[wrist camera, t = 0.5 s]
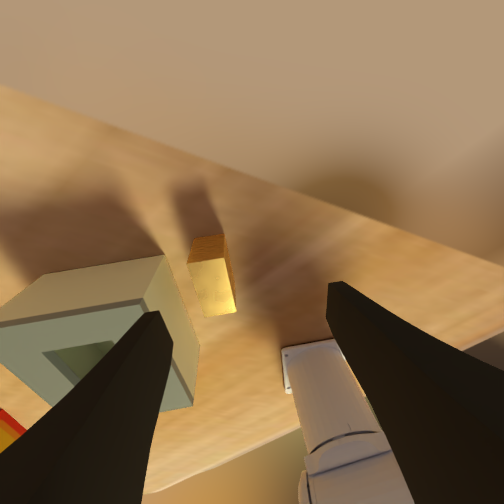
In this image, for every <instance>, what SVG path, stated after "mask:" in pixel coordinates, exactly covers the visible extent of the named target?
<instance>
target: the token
mask: <svg viewBox="0 0 504 504" xmlns="http://www.w3.org/2000/svg"><path fill="white" fill-rule="evenodd" d="M187 266H188V269H189V272H190V275H191V278H192V281H193V284H194V287H195V290H196V293H197V296H198V299H199V302H200V305H201V308H202V311H203V314H204V317H210V316H216V315H221V314H227V313H233V312H236V298H235V281H234V277H233V272H232V267H231V262H230V258H229V253H228V248H227V243H226V239H225V234H218V235H212V236H206V237H200V238H194V241H193V244H192V248H191V251H190V254H189V258H188V261H187Z"/></svg>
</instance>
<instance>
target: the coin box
mask: <svg viewBox="0 0 504 504" xmlns="http://www.w3.org/2000/svg"><path fill="white" fill-rule="evenodd" d="M157 310H159V311H160V313H161V315H162V318H163V320H164V322H165V324H166V327H167V329H168V331H169V333H170V336H171V338H172V340H173V342H174V345H173V353H172V361H171V367H170V372H169V376H168V380H167V384H166V388H165V391H164V395H163V399H162V403H161V407H160V411H159V412H164V411H170V410H175V409H181V408H186V407H191V406H193V400H194V392H195V384H196V376H197V367H198V359H199V351H200V345H199V342H198V340H197V337H196V335H195V332H194V329H193V327H192V324H191V322H190V319H189V316H188V314H187V311H186V309H185V306H184V303H183V301H182V298H181V296H180V293H179V290H178V288H177V285H176V283H175V280H174V277H173V275H172V272H171V270H170V267H169V264H168V262H167V259H166V257H165V255H159V256H153V257H147V258H141V259H134V260H128V261H122V262H116V263H110V264H104V265H98V266H92V267H86V268H79V269H73V270H67V271H61V272H55V273H49V274H43V275H42V276H41V277H39V278H38V279H37V280H36V281H34V282H33V283H32V284H30V285H29V286H28V287H26V288H25V289H24V290H23V291H21V292H20V293H19V294H17V295H16V296H15V297H14V298H12V299H11V300H10V301H8V302H7V303H6V304H4V305H3V306H2V307H1V308H0V363H1V364H2V365H4V366H5V367H6V368H7V369H8V370H9V371H11V372H12V373H13V374H14V375H15V376H17V377H18V378H19V379H20V380H21V381H22V382H24V383H25V384H26V385H27V386H28V387H29V388H31V389H32V390H33V391H34V392H35V393H36V394H38V395H39V396H40V397H41V398H42V399H44V400H45V401H46V402H47V403H48V404H49V405H51V406H52V407H54V406H55V405H56V404H57V403H58V402H59V401H60V400H61V399H62V398H63V397H64V396H65V395H66V394H67V393H68V392H69V391H71V390H72V389H73V388H74V387H75V385H76V384H77V383H78V382H79V381H80V380H81V379H82V378H83V377H84V376H85V375H86V374H87V373H88V372H89V371H90V370H91V369H92V368H93V367H94V366H95V365H96V364H97V363H98V362H99V361H100V360H101V359H102V358H103V357H104V356H105V355H106V354H107V353H108V351H109V350H110V349H111V348H112V347H113V346H114V345H115V344H116V343H117V342H118V341H119V340H120V338H121V337H122V336H123V335H124V334H125V333H126V332H127V331H128V330H129V329H130V327H131V326H132V325H133V324H134V323H135V322H136V321H137V320H138V319H139V318H140V317H141V316H142V315H143V314H144V313H145V312H151V311H157Z"/></svg>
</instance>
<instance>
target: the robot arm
mask: <svg viewBox="0 0 504 504" xmlns="http://www.w3.org/2000/svg"><path fill="white" fill-rule="evenodd" d="M326 319H327V322H328V324H329V327H330V329H331V332H332V334H333V336H334V338H335V339H330V340H325V341H319V342H313V343H308V344H302V345H297V346H291V347H286V348H283V349H282V350H281V353H282V364H283V374H284V385H285V392H286V393H287V394H290V393H293V397H294V401H295V405H296V409H297V413H298V417H299V421H300V425H301V428H302V432H303V436H304V440H305V444H306V448H307V452H308V456H305V457H304V461H305V465H306V469H307V470H304V471H302V473H301V477H300V482H299V486H298V497H299V504H504V371H502V370H500V369H498V368H496V367H494V366H491V365H489V364H487V363H485V362H483V361H480V360H478V359H476V358H474V357H472V356H470V355H468V354H466V353H464V352H462V351H460V350H458V349H456V348H454V347H452V346H450V345H448V344H446V343H444V342H442V341H440V340H438V339H436V338H435V337H433V336H431V335H429V334H427V333H425V332H424V331H422V330H420V329H418V328H417V327H415V326H413V325H411V324H410V323H408V322H406V321H405V320H403V319H401V318H400V317H398V316H396V315H395V314H393V313H391V312H390V311H388V310H387V309H385V308H383V307H382V306H380V305H379V304H377V303H376V302H374V301H372V300H371V299H369V298H368V297H366V296H365V295H363V294H362V293H360V292H359V291H357V290H356V289H354V288H353V287H351V286H350V285H348V284H347V283H345V282H343V281H339V282H333V283H328V296H327V309H326ZM173 345H174V342H173V340H172V338H171V336H170V333H169V331H168V329H167V327H166V324H165V322H164V320H163V318H162V315H161V313H160V311H159V310H157V311H151V312H145V313H144V314H143V315H142V316H141V317H140V318H139V319H138V320H137V321H136V322H135V323H134V324H133V325H132V326H131V327H130V329H129V330H128V331H127V332H126V333H125V334H124V335H123V336H122V337H121V338H120V340H119V341H118V342H117V343H116V344H115V345H114V346H113V347H112V348H111V349H110V350H109V351H108V353H107V354H106V355H105V356H104V357H103V358H102V359H101V360H100V361H99V362H98V363H97V364H96V365H95V366H94V367H93V368H92V369H91V370H90V371H89V372H88V373H87V374H86V375H85V376H84V377H83V378H82V379H81V380H80V381H79V382H78V383H77V384H76V385H75V387H74V388H73V389H72V390H71V391H69V392H68V393H67V394H66V395H65V396H64V397H63V398H62V399H61V400H60V401H59V402H58V403H57V404H56V405H55V406H54V407H53V408H52V409H50V410H49V411H48V412H47V413H46V414H45V415H44V416H43V417H42V418H41V419H39V420H38V421H37V422H36V423H35V424H34V425H33V426H32V427H31V428H29V429H28V430H27V431H26V432H25V433H24V434H23V435H21V436H20V437H19V438H18V439H17V440H15V441H14V442H13V443H12V444H11V445H9V446H8V447H7V448H6V449H5V450H4V451H2V452H1V453H0V504H141V501H142V495H143V488H144V482H145V476H146V470H147V465H148V459H149V453H150V447H151V443H152V438H153V434H154V430H155V426H156V422H157V418H158V414H159V411H160V407H161V403H162V399H163V395H164V391H165V388H166V384H167V380H168V376H169V372H170V367H171V361H172V353H173ZM345 359H346V360H347V362H348V364H349V366H350V367H351V369H352V371H353V373H354V375H355V376H356V378H357V380H358V382H359V383H360V385H361V387H362V389H363V390H364V392H365V394H366V396H367V398H368V400H369V402H370V404H371V405H372V408H373V410H374V412H375V414H376V416H377V418H378V421H379V423H380V425H381V427H382V429H383V431H381V429H380V427H379V425H378V423H377V421H376V419H375V417H374V415H373V414H372V412H371V410H370V408H369V406H368V404H367V402H366V400H365V398H364V396H363V394H362V393H361V391H360V389H359V387H358V385H357V383H356V381H355V379H354V377H353V375H352V373H351V372H350V370H349V368H348V366H347V364H346V362H345Z"/></svg>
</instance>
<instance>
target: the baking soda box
mask: <svg viewBox="0 0 504 504" xmlns="http://www.w3.org/2000/svg"><path fill="white" fill-rule="evenodd" d="M26 431H27V430H26V429H25V428H24V427H23V426H21V425H20V424H19V423H18V422H17V421H16V420H15V419H13V418H12V417H11V416H10V415H9V414H8V413H7V412H5V411H4V410H3V409H0V453H1V452H2V451H4V450H5V449H6V448H7V447H8V446H9V445H11V444H12V443H13V442H14V441H15V440H17V439H18V438H19V437H20V436H21V435H23V434H24V433H25V432H26Z"/></svg>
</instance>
